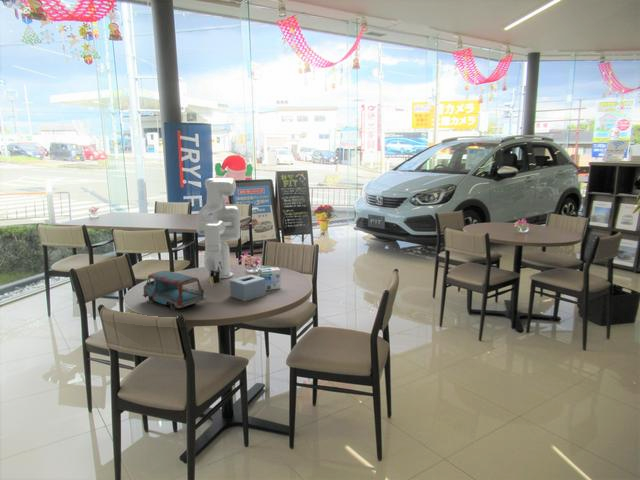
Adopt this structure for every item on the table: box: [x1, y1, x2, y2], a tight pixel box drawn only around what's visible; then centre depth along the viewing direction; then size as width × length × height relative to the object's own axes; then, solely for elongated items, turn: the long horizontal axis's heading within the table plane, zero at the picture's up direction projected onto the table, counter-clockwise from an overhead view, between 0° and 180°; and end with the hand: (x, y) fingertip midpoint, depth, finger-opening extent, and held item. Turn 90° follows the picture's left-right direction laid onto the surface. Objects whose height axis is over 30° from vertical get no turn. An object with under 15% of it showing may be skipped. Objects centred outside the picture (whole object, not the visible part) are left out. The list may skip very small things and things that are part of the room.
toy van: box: [142, 270, 206, 311], centre depth 226 cm, size 16×32×15 cm, turn 53°
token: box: [208, 275, 222, 287], centre depth 234 cm, size 2×5×5 cm, turn 137°
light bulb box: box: [259, 266, 282, 291], centre depth 251 cm, size 11×7×11 cm, turn 112°
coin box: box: [229, 274, 267, 302], centre depth 238 cm, size 12×14×9 cm
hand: (215, 281), depth 234 cm, fingers closed on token, 2 cm apart
